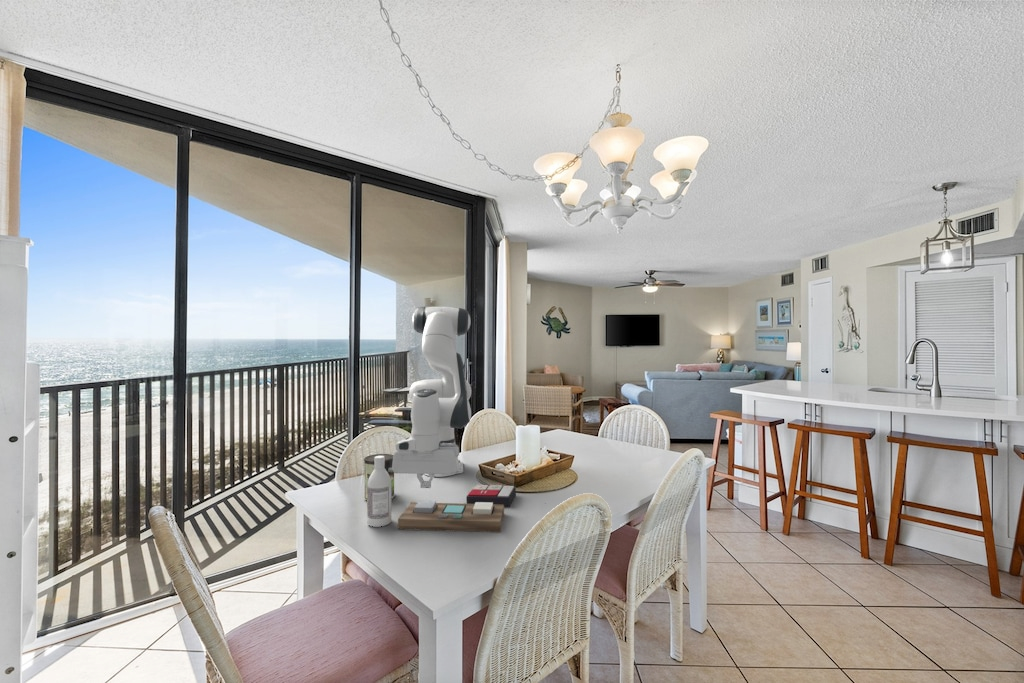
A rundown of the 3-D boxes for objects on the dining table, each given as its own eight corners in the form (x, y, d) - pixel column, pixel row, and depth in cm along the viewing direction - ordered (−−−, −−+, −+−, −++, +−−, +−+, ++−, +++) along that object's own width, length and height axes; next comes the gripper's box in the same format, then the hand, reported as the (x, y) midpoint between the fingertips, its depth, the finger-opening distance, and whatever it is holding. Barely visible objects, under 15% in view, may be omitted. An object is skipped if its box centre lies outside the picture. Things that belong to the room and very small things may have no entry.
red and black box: (475, 483, 157) (515, 484, 154) (475, 495, 157) (516, 496, 154) (465, 494, 146) (509, 495, 143) (466, 507, 146) (510, 508, 143)
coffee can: (396, 491, 158) (396, 453, 158) (391, 502, 148) (391, 460, 148) (368, 492, 157) (368, 453, 157) (360, 503, 147) (360, 461, 147)
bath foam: (374, 517, 135) (374, 453, 135) (395, 518, 134) (395, 454, 134) (363, 527, 128) (363, 459, 128) (385, 528, 127) (385, 460, 127)
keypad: (411, 511, 139) (411, 501, 139) (503, 513, 137) (503, 503, 137) (397, 529, 126) (397, 517, 126) (500, 531, 124) (500, 520, 124)
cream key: (475, 508, 136) (475, 502, 136) (493, 508, 135) (493, 502, 135) (472, 515, 130) (472, 508, 130) (491, 516, 130) (491, 509, 130)
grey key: (419, 507, 137) (419, 500, 137) (436, 507, 137) (436, 501, 137) (414, 514, 131) (414, 507, 131) (431, 514, 131) (431, 507, 131)
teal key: (447, 511, 136) (447, 505, 136) (464, 512, 136) (464, 505, 136) (443, 518, 131) (443, 512, 131) (461, 519, 130) (461, 512, 130)
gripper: (460, 440, 136) (461, 484, 136) (397, 440, 137) (397, 483, 137) (457, 445, 130) (457, 491, 130) (390, 444, 131) (390, 490, 131)
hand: (425, 487), depth 133 cm, fingers closed
